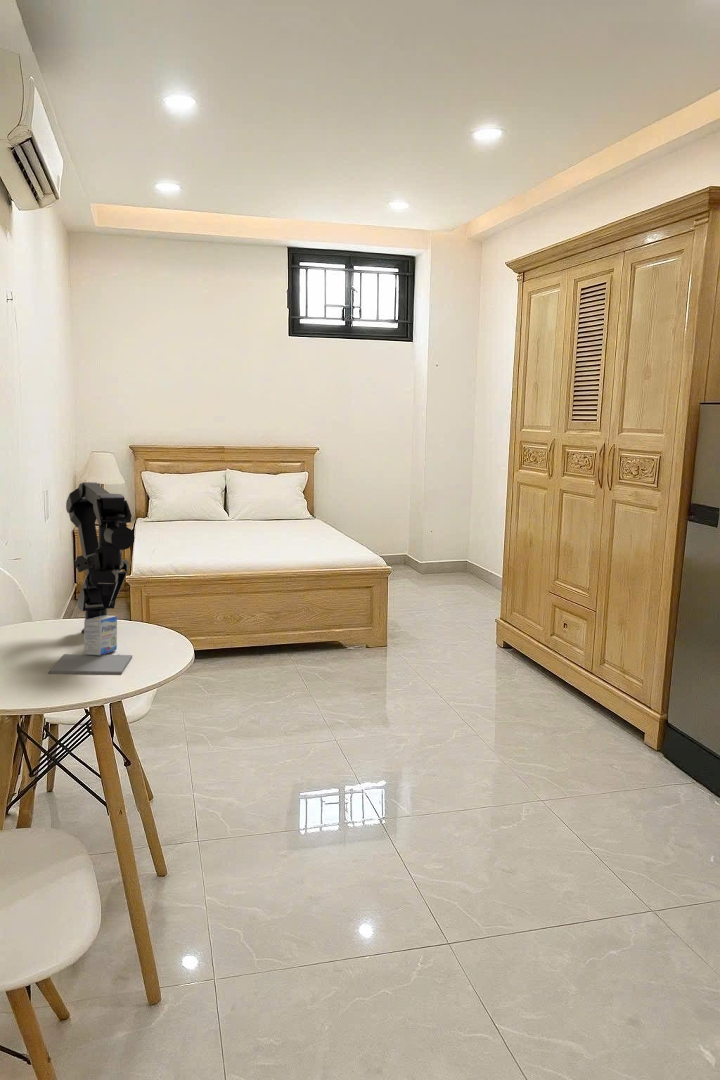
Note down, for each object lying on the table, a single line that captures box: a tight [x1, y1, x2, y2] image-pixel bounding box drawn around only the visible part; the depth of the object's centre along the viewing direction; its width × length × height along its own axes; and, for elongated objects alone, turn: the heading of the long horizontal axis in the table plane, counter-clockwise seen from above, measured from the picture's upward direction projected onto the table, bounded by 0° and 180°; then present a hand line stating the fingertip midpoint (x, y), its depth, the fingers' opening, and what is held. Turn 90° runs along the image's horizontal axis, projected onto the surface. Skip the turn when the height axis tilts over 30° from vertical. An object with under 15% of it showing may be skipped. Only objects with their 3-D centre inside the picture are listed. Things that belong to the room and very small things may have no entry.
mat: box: [47, 653, 133, 675], centre depth 183 cm, size 13×16×1 cm
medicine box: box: [83, 614, 118, 656], centre depth 191 cm, size 8×4×9 cm, turn 167°
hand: (110, 603), depth 201 cm, fingers open, 9 cm apart
